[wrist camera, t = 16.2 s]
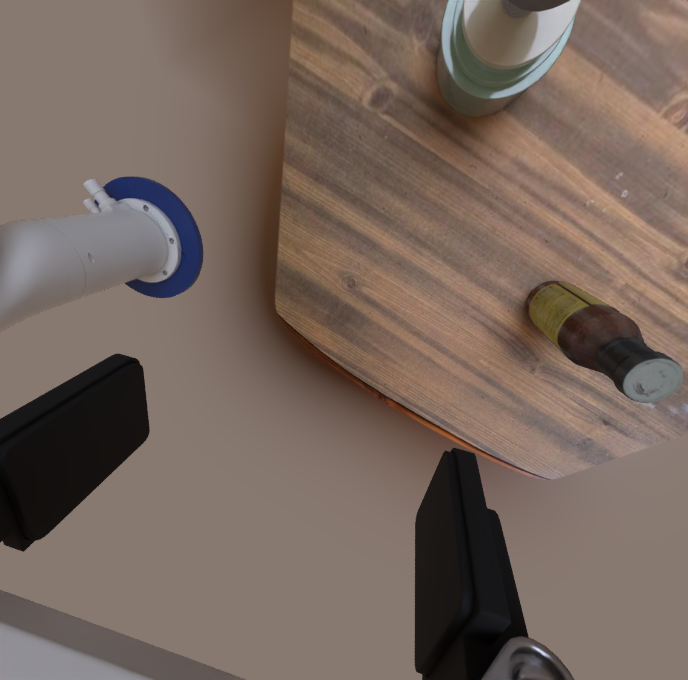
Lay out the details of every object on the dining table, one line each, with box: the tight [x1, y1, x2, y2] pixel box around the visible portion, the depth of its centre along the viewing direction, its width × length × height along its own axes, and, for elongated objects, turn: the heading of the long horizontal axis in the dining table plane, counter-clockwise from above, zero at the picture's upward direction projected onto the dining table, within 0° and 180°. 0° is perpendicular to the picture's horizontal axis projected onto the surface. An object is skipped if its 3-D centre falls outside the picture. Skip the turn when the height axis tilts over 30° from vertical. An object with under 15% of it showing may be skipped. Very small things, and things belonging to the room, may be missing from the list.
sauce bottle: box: [526, 281, 684, 403], centre depth 34 cm, size 7×6×20 cm
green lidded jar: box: [436, 0, 581, 117], centre depth 29 cm, size 10×10×14 cm
